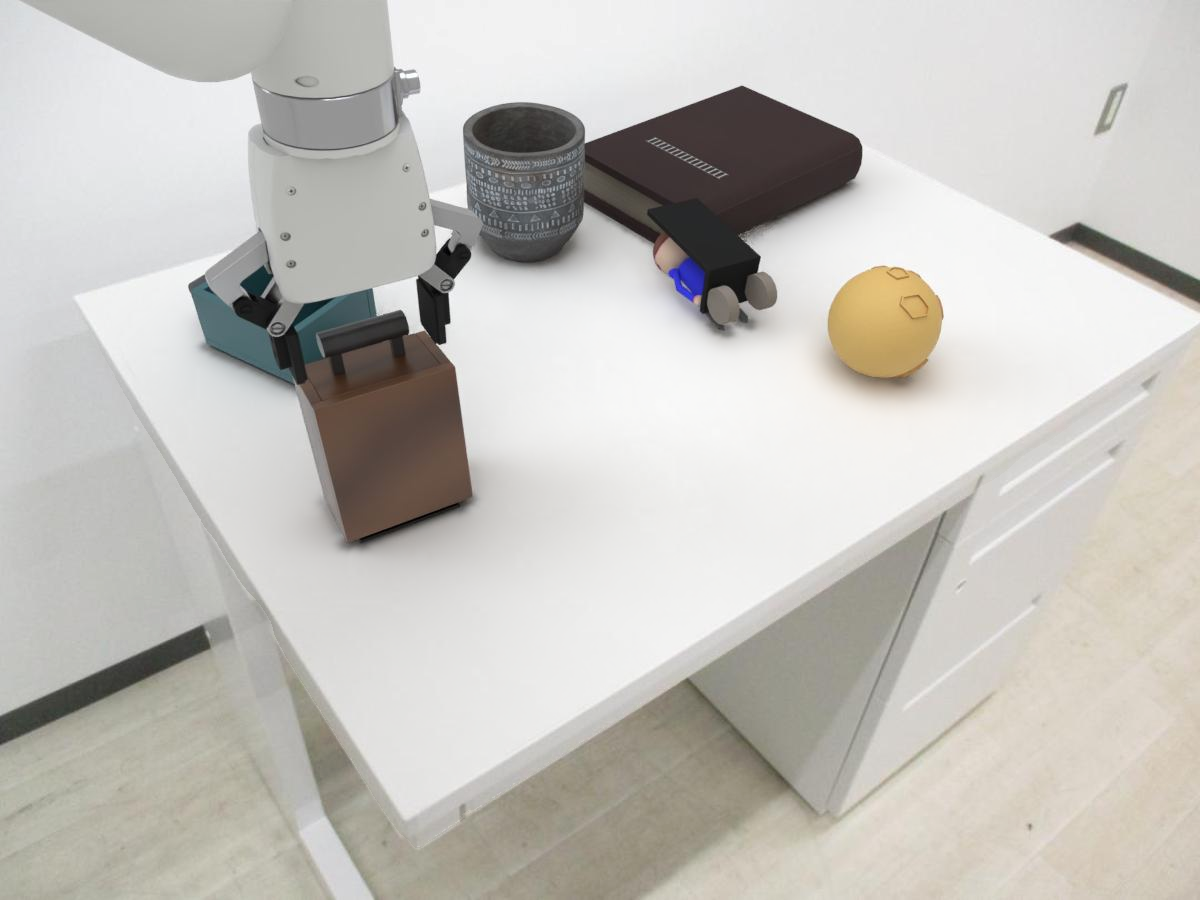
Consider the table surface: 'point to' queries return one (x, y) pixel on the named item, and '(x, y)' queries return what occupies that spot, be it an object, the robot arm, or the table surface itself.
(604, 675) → the table surface
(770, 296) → the figurine character
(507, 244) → the planter
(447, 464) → the walnut shelf
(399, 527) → the charcoal rectangular slab
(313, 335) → the teal shelf
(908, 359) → the stress ball
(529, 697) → the table surface
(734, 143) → the book
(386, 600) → the table surface
